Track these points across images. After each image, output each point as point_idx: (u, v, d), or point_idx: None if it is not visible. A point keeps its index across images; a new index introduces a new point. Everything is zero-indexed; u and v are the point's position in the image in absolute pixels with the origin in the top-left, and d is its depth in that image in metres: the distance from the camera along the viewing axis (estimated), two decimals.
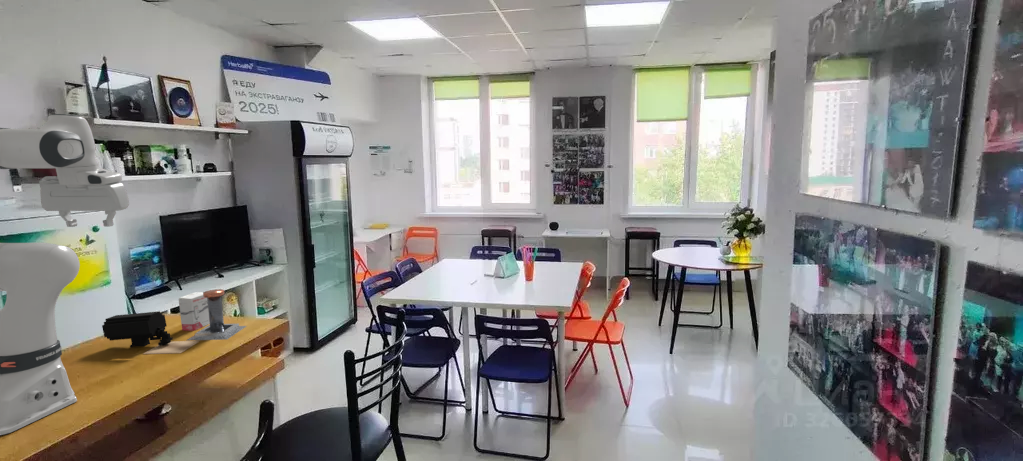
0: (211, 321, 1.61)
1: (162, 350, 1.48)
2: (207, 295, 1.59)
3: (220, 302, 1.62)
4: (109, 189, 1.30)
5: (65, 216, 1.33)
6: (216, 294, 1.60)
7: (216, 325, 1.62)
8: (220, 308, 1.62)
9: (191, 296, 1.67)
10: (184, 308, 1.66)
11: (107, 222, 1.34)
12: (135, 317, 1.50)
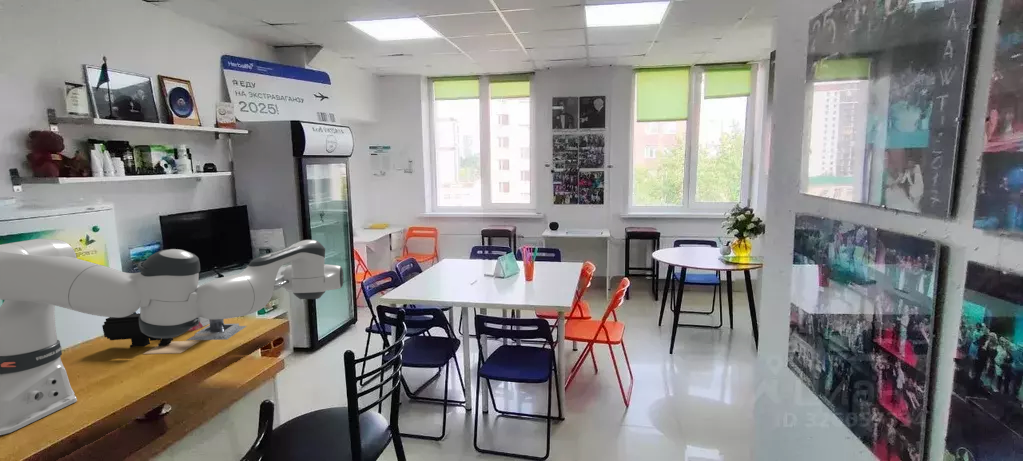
0: (211, 321, 1.61)
1: (162, 350, 1.48)
2: None
3: None
4: None
5: None
6: None
7: (216, 325, 1.62)
8: None
9: None
10: None
11: None
12: (135, 317, 1.50)
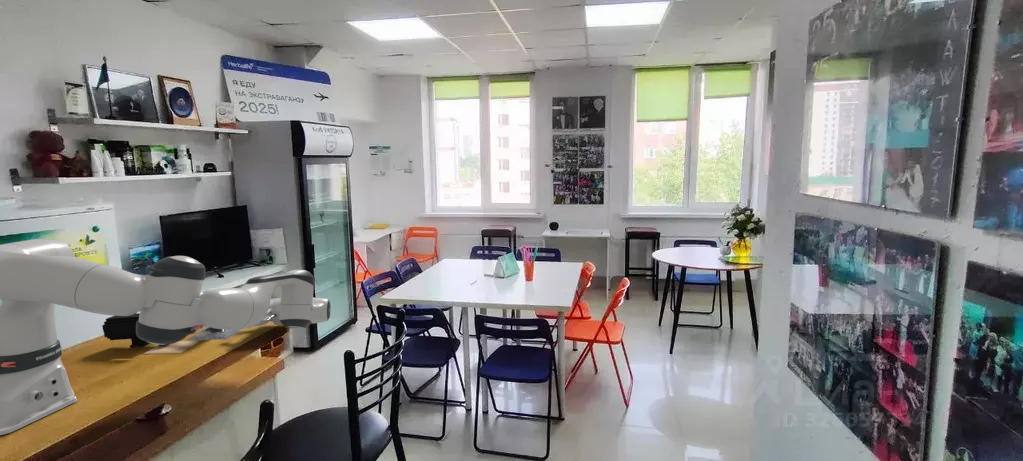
0: None
1: (162, 350, 1.48)
2: None
3: None
4: None
5: None
6: None
7: None
8: None
9: None
10: None
11: None
12: (135, 317, 1.50)
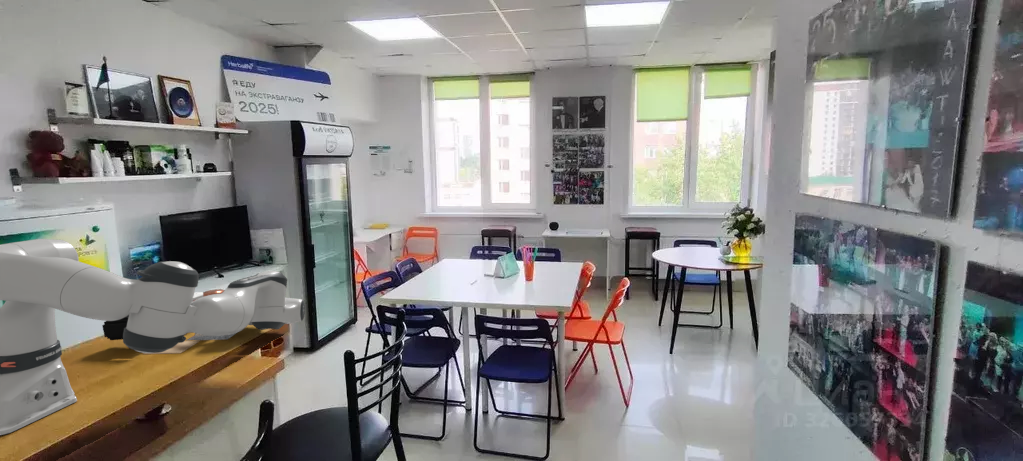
0: None
1: None
2: (207, 295, 1.59)
3: None
4: None
5: None
6: None
7: None
8: None
9: None
10: None
11: None
12: None
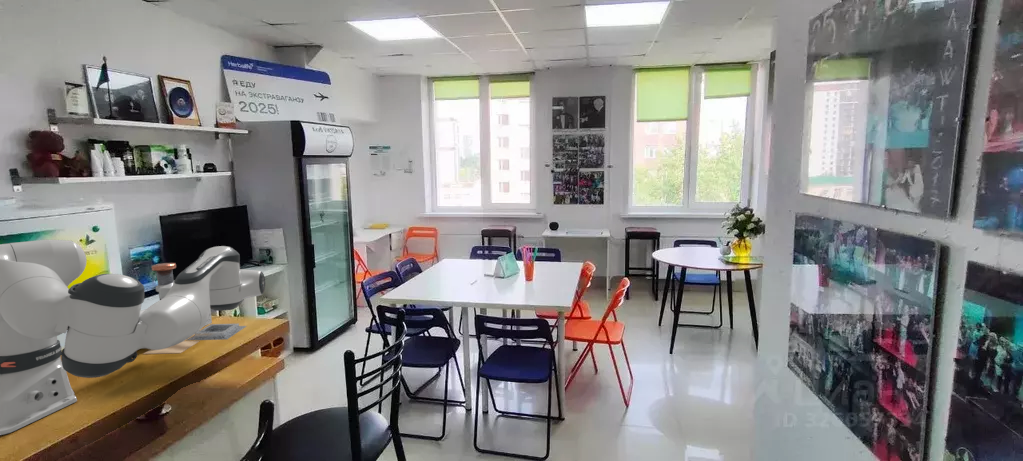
0: None
1: (162, 350, 1.48)
2: (156, 268, 1.45)
3: (171, 276, 1.49)
4: None
5: None
6: (166, 267, 1.46)
7: None
8: None
9: None
10: None
11: None
12: None
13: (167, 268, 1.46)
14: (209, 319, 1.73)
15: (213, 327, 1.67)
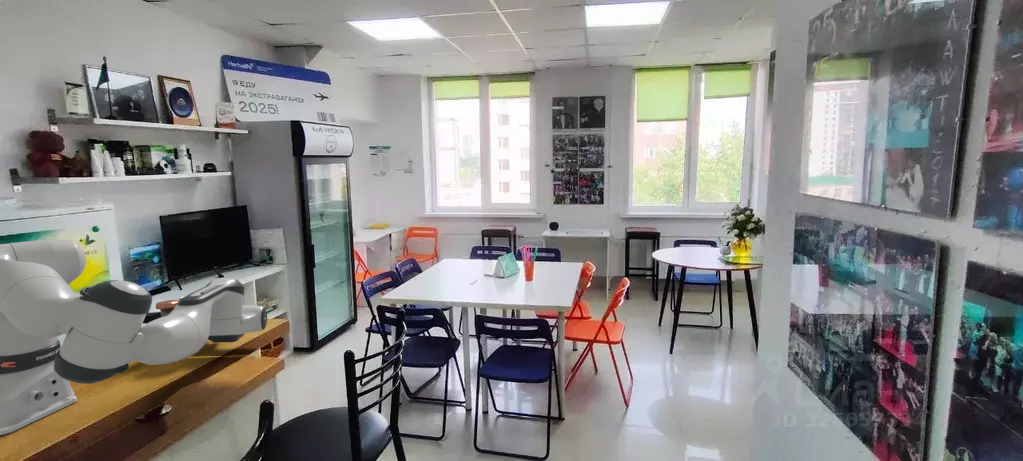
0: None
1: None
2: (160, 306, 1.46)
3: None
4: None
5: None
6: (170, 305, 1.47)
7: None
8: None
9: None
10: None
11: None
12: None
13: (171, 306, 1.47)
14: None
15: None
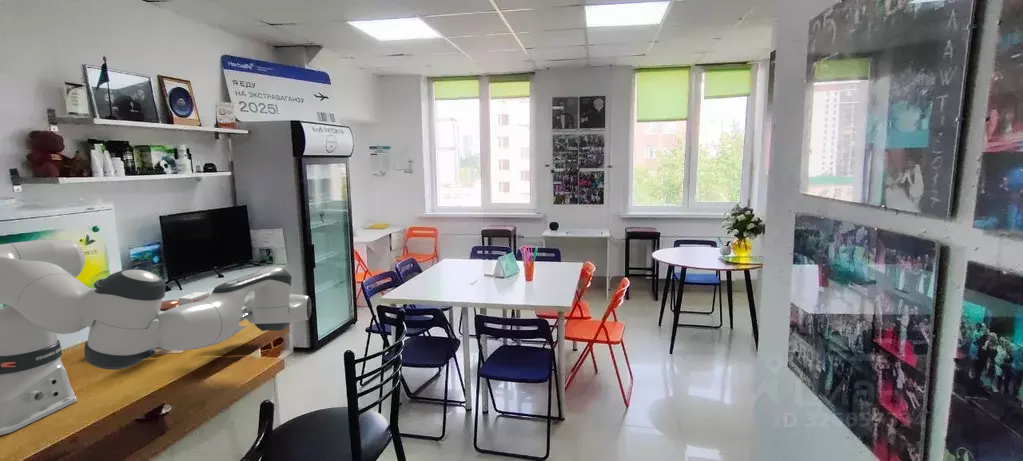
0: None
1: (162, 350, 1.48)
2: None
3: None
4: None
5: None
6: (169, 305, 1.47)
7: None
8: None
9: (191, 296, 1.67)
10: None
11: None
12: None
13: (170, 306, 1.47)
14: None
15: None
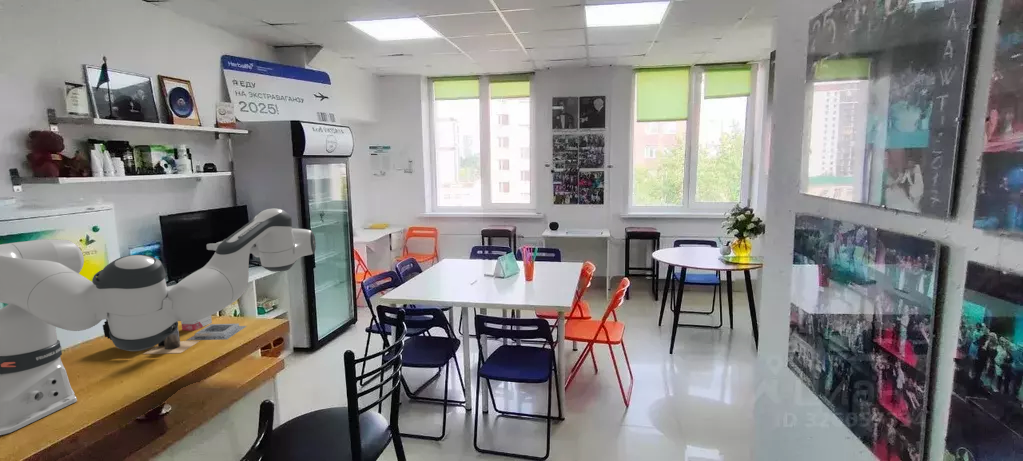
0: None
1: (162, 350, 1.48)
2: None
3: None
4: None
5: None
6: None
7: (170, 339, 1.49)
8: None
9: None
10: None
11: None
12: None
13: None
14: (209, 319, 1.73)
15: (213, 327, 1.67)
